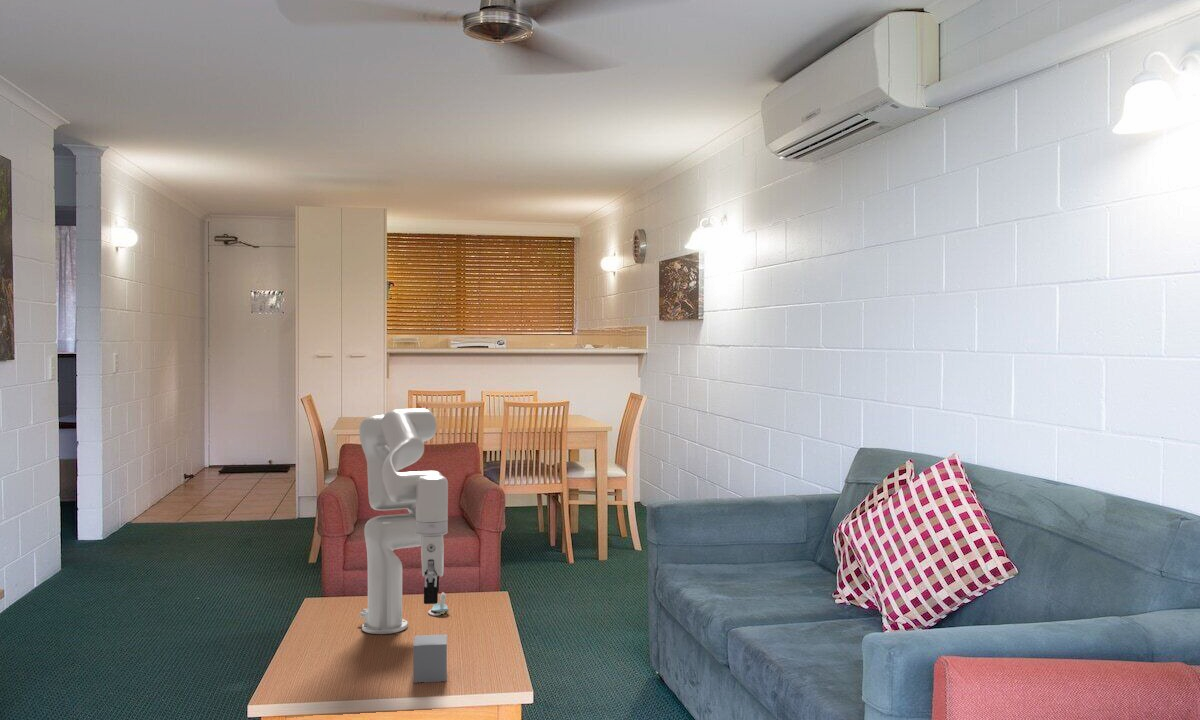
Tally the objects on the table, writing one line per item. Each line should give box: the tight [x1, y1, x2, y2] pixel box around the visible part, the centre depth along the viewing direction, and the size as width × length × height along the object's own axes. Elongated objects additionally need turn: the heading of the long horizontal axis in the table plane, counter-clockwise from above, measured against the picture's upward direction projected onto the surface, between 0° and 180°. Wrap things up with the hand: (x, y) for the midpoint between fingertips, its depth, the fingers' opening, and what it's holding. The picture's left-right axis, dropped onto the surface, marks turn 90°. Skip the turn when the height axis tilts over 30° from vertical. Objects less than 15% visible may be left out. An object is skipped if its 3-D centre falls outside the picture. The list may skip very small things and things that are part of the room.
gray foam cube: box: [412, 633, 448, 684], centre depth 221 cm, size 8×8×9 cm
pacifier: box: [427, 592, 450, 617], centre depth 274 cm, size 7×6×6 cm
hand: (431, 597), depth 223 cm, fingers open, 9 cm apart
